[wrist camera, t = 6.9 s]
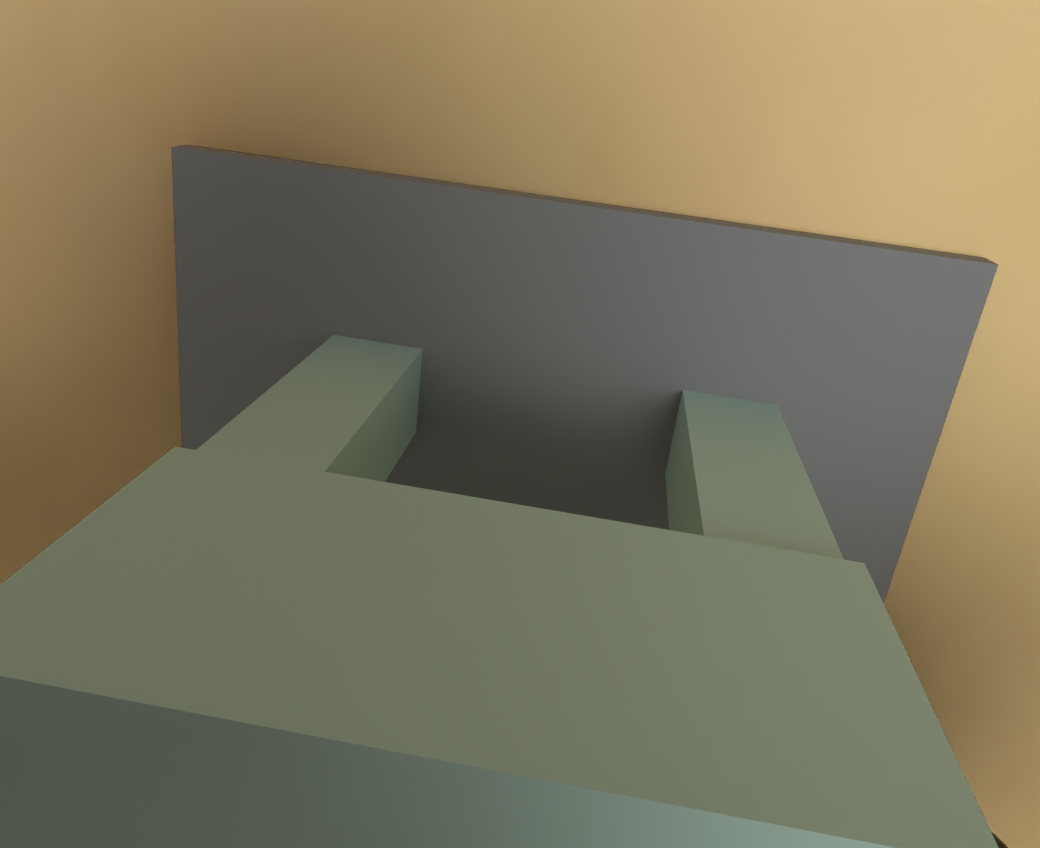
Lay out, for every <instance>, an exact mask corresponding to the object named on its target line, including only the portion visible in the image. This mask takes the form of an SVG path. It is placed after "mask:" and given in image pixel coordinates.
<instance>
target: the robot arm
mask: <svg viewBox="0 0 1040 848" xmlns="http://www.w3.org/2000/svg"><path fill="white" fill-rule="evenodd" d="M991 833H992V832H991ZM992 835H993V837H994V839H995V841H996V843H997V845H998V847H999V848H1008V847H1007V846H1006V845H1005V844H1004V843H1003V842H1002V841H1001V840H1000V839H999V838H998V837H997V836H996V835H995V834H994V833H992Z"/></svg>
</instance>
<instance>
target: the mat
mask: <svg viewBox="0 0 1040 848" xmlns="http://www.w3.org/2000/svg"><path fill="white" fill-rule="evenodd" d="M172 173H173V202H174V230H175V258H176V287H177V315H178V344H179V372H180V400H181V429H182V448H187V449H193V450H197V449H198V448H199V447H200V446H202V445H203V444H204V443H205V442H206V441H207V440H209V439H210V438H211V437H212V436H213V435H215V434H216V433H217V432H218V431H219V430H221V429H222V428H223V427H224V426H225V425H227V424H228V423H229V422H230V421H231V420H233V419H234V418H235V417H236V416H237V415H239V414H240V413H241V412H242V411H243V410H245V409H246V408H247V407H248V406H249V405H250V404H252V403H253V402H254V401H255V400H256V399H258V398H259V397H260V396H261V395H262V394H264V393H265V392H266V391H267V390H268V389H270V388H271V387H272V386H273V385H274V384H276V383H277V382H278V381H279V380H280V379H282V378H283V377H284V376H285V375H286V374H288V373H289V372H290V371H291V370H292V369H293V368H295V367H296V366H297V365H298V364H299V363H301V362H302V361H303V360H304V359H305V358H307V357H308V356H309V355H310V354H311V353H313V352H314V351H315V350H316V349H317V348H319V347H320V346H321V345H322V344H323V343H325V342H326V341H327V340H328V339H329V338H331V337H332V336H333V335H338V336H344V337H351V338H357V339H363V340H370V341H376V342H382V343H389V344H395V345H402V346H408V347H414V348H421V349H423V352H422V364H421V377H420V389H419V401H418V414H417V426H416V433H415V435H414V437H413V438H412V440H411V441H410V443H409V444H408V446H407V448H406V449H405V451H404V452H403V454H402V456H401V457H400V459H399V460H398V462H397V464H396V465H395V467H394V468H393V470H392V471H391V473H390V475H389V476H388V478H387V479H386V481H385V482H388V483H394V484H400V485H406V486H412V487H418V488H424V489H430V490H435V491H441V492H447V493H453V494H459V495H465V496H471V497H477V498H483V499H489V500H495V501H501V502H506V503H512V504H518V505H524V506H530V507H536V508H542V509H548V510H554V511H560V512H566V513H572V514H577V515H583V516H589V517H595V518H601V519H607V520H613V521H619V522H625V523H631V524H637V525H643V526H649V527H654V528H660V529H666V530H669V520H668V506H667V492H666V478H665V472H666V467H667V462H668V458H669V453H670V448H671V443H672V438H673V434H674V429H675V424H676V419H677V414H678V410H679V405H680V400H681V395H682V390H688V391H694V392H701V393H707V394H713V395H720V396H726V397H733V398H739V399H745V400H752V401H758V402H764V403H771V404H777V405H778V408H779V410H780V412H781V415H782V417H783V419H784V422H785V424H786V426H787V429H788V431H789V433H790V435H791V438H792V440H793V442H794V445H795V447H796V449H797V452H798V454H799V456H800V459H801V461H802V463H803V466H804V468H805V470H806V473H807V475H808V477H809V479H810V482H811V484H812V486H813V489H814V491H815V493H816V496H817V498H818V500H819V503H820V505H821V507H822V510H823V512H824V514H825V517H826V519H827V521H828V523H829V526H830V528H831V530H832V533H833V535H834V537H835V540H836V542H837V544H838V547H839V549H840V551H841V554H842V556H843V558H844V560H850V561H856V562H862V563H865V565H866V567H867V569H868V571H869V574H870V576H871V578H872V580H873V582H874V584H875V586H876V588H877V591H878V593H879V595H880V597H881V599H882V601H883V603H884V600H885V597H886V594H887V591H888V588H889V585H890V582H891V579H892V576H893V573H894V570H895V567H896V564H897V561H898V558H899V555H900V552H901V549H902V547H903V544H904V541H905V538H906V535H907V532H908V529H909V526H910V523H911V520H912V517H913V514H914V511H915V508H916V505H917V502H918V499H919V496H920V493H921V490H922V488H923V485H924V482H925V479H926V476H927V473H928V470H929V467H930V464H931V461H932V458H933V455H934V452H935V449H936V446H937V443H938V440H939V437H940V434H941V432H942V429H943V426H944V423H945V420H946V417H947V414H948V411H949V408H950V405H951V402H952V399H953V396H954V393H955V390H956V387H957V384H958V381H959V378H960V375H961V373H962V370H963V367H964V364H965V361H966V358H967V355H968V352H969V349H970V346H971V343H972V340H973V337H974V334H975V331H976V328H977V325H978V322H979V319H980V316H981V314H982V311H983V308H984V305H985V302H986V299H987V296H988V293H989V290H990V287H991V284H992V281H993V278H994V275H995V272H996V269H997V266H998V264H996V263H994V262H992V261H990V260H988V259H986V258H981V257H974V256H967V255H960V254H953V253H946V252H939V251H932V250H925V249H918V248H911V247H904V246H897V245H889V244H882V243H875V242H868V241H861V240H854V239H847V238H840V237H833V236H826V235H819V234H812V233H805V232H798V231H791V230H784V229H777V228H770V227H762V226H755V225H748V224H741V223H734V222H727V221H720V220H713V219H706V218H699V217H692V216H685V215H678V214H671V213H664V212H657V211H650V210H643V209H635V208H628V207H621V206H614V205H607V204H600V203H593V202H586V201H579V200H572V199H565V198H558V197H551V196H544V195H537V194H530V193H523V192H515V191H508V190H501V189H494V188H487V187H480V186H473V185H466V184H459V183H452V182H445V181H438V180H431V179H424V178H417V177H410V176H403V175H396V174H388V173H381V172H374V171H367V170H360V169H353V168H346V167H339V166H332V165H325V164H318V163H311V162H304V161H297V160H290V159H283V158H276V157H269V156H261V155H254V154H247V153H240V152H233V151H226V150H219V149H212V148H205V147H198V146H191V145H184V146H177V147H172Z"/></svg>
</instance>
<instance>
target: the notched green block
mask: <svg viewBox="0 0 1040 848" xmlns="http://www.w3.org/2000/svg"><path fill="white" fill-rule="evenodd" d="M422 352H423V349H421V348H414V347H408V346H402V345H395V344H389V343H382V342H376V341H370V340H363V339H357V338H351V337H344V336H338V335H333V336H332V337H331V338H329V339H328V340H327V341H326V342H325V343H323V344H322V345H321V346H320V347H319V348H317V349H316V350H315V351H314V352H313V353H311V354H310V355H309V356H308V357H307V358H305V359H304V360H303V361H302V362H301V363H299V364H298V365H297V366H296V367H295V368H293V369H292V370H291V371H290V372H289V373H288V374H286V375H285V376H284V377H283V378H282V379H280V380H279V381H278V382H277V383H276V384H274V385H273V386H272V387H271V388H270V389H268V390H267V391H266V392H265V393H264V394H262V395H261V396H260V397H259V398H258V399H256V400H255V401H254V402H253V403H252V404H250V405H249V406H248V407H247V408H246V409H245V410H243V411H242V412H241V413H240V414H239V415H237V416H236V417H235V418H234V419H233V420H231V421H230V422H229V423H228V424H227V425H225V426H224V427H223V428H222V429H221V430H219V431H218V432H217V433H216V434H215V435H213V436H212V437H211V438H210V439H209V440H207V441H206V442H205V443H204V444H203V445H202V446H200V447H199V448H198V449H197V450H193V449H187V448H181V447H173V448H172V449H171V450H170V451H168V452H167V453H166V454H165V455H163V456H162V457H161V458H160V459H158V460H157V461H156V462H154V463H153V464H152V465H151V466H149V467H148V468H147V469H146V470H144V471H143V472H142V473H141V474H139V475H138V476H137V477H136V478H134V479H133V480H132V481H130V482H129V483H128V484H127V485H125V486H124V487H123V488H122V489H120V490H119V491H118V492H117V493H115V494H114V495H113V496H112V497H110V498H109V499H108V500H106V501H105V502H104V503H103V504H101V505H100V506H99V507H98V508H96V509H95V510H94V511H93V512H91V513H90V514H89V515H87V516H86V517H85V518H84V519H82V520H81V521H80V522H79V523H77V524H76V525H75V526H74V527H72V528H71V529H70V530H69V531H67V532H66V533H65V534H63V535H62V536H61V537H60V538H58V539H57V540H56V541H55V542H53V543H52V544H51V545H50V546H48V547H47V548H46V549H44V550H43V551H42V552H41V553H39V554H38V555H37V556H36V557H34V558H33V559H32V560H31V561H29V562H28V563H27V564H26V565H24V566H23V567H22V568H20V569H19V570H18V571H17V572H15V573H14V574H13V575H12V576H10V577H9V578H8V579H7V580H5V581H4V582H3V583H1V584H0V848H999V847H998V845H997V843H996V841H995V839H994V837H993V835H992V833H991V830H990V828H989V826H988V824H987V822H986V820H985V818H984V816H983V813H982V811H981V809H980V807H979V805H978V803H977V801H976V799H975V796H974V794H973V792H972V790H971V788H970V786H969V784H968V782H967V780H966V777H965V775H964V773H963V771H962V769H961V767H960V765H959V763H958V760H957V758H956V756H955V754H954V752H953V750H952V748H951V746H950V743H949V741H948V739H947V737H946V735H945V733H944V731H943V729H942V726H941V724H940V722H939V720H938V718H937V716H936V714H935V712H934V709H933V707H932V705H931V703H930V701H929V699H928V697H927V695H926V692H925V690H924V688H923V686H922V684H921V682H920V680H919V678H918V676H917V673H916V671H915V669H914V667H913V665H912V663H911V661H910V659H909V656H908V654H907V652H906V650H905V648H904V646H903V644H902V642H901V639H900V637H899V635H898V633H897V631H896V629H895V627H894V625H893V622H892V620H891V618H890V616H889V614H888V612H887V610H886V608H885V605H884V603H883V601H882V599H881V597H880V595H879V593H878V591H877V588H876V586H875V584H874V582H873V580H872V578H871V576H870V574H869V571H868V569H867V567H866V565H865V563H862V562H856V561H850V560H844V558H843V556H842V554H841V551H840V549H839V547H838V544H837V542H836V540H835V537H834V535H833V533H832V530H831V528H830V526H829V523H828V521H827V519H826V517H825V514H824V512H823V510H822V507H821V505H820V503H819V500H818V498H817V496H816V493H815V491H814V489H813V486H812V484H811V482H810V479H809V477H808V475H807V473H806V470H805V468H804V466H803V463H802V461H801V459H800V456H799V454H798V452H797V449H796V447H795V445H794V442H793V440H792V438H791V435H790V433H789V431H788V429H787V426H786V424H785V422H784V419H783V417H782V415H781V412H780V410H779V408H778V405H777V404H771V403H764V402H758V401H752V400H745V399H739V398H733V397H726V396H720V395H713V394H707V393H701V392H694V391H688V390H682V395H681V400H680V405H679V410H678V414H677V419H676V424H675V429H674V434H673V438H672V443H671V448H670V453H669V458H668V462H667V467H666V472H665V478H666V492H667V506H668V520H669V530H666V529H660V528H654V527H649V526H643V525H637V524H631V523H625V522H619V521H613V520H607V519H601V518H595V517H589V516H583V515H577V514H572V513H566V512H560V511H554V510H548V509H542V508H536V507H530V506H524V505H518V504H512V503H506V502H501V501H495V500H489V499H483V498H477V497H471V496H465V495H459V494H453V493H447V492H441V491H435V490H430V489H424V488H418V487H412V486H406V485H400V484H394V483H388V482H385V481H386V479H387V478H388V476H389V475H390V473H391V471H392V470H393V468H394V467H395V465H396V464H397V462H398V460H399V459H400V457H401V456H402V454H403V452H404V451H405V449H406V448H407V446H408V444H409V443H410V441H411V440H412V438H413V437H414V435H415V433H416V426H417V414H418V401H419V389H420V377H421V364H422Z"/></svg>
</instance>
